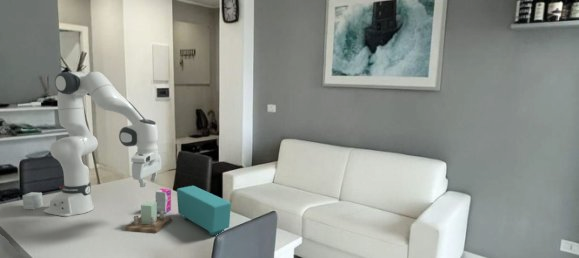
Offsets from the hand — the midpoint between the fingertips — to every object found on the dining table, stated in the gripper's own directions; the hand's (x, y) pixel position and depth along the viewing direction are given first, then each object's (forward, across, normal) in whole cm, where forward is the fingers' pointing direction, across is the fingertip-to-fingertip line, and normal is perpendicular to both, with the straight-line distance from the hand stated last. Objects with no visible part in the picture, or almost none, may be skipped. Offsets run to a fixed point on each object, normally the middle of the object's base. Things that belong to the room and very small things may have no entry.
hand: (148, 184), depth 163 cm
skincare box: (+21, -10, -70) cm, 73 cm away
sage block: (+18, 0, 0) cm, 19 cm away
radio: (+20, -5, +25) cm, 32 cm away
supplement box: (+20, -18, -2) cm, 27 cm away
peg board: (+20, 0, 0) cm, 20 cm away
